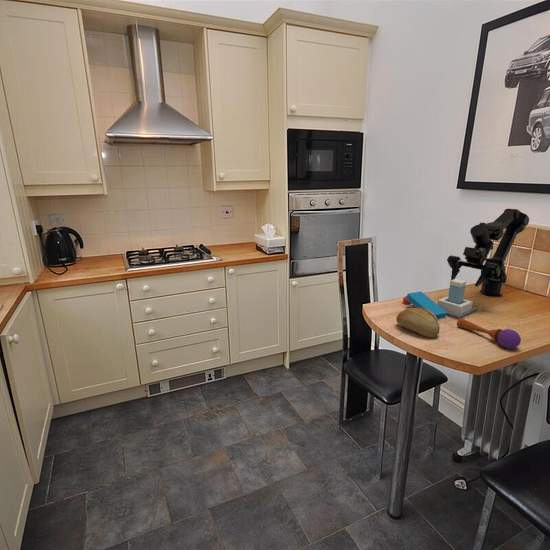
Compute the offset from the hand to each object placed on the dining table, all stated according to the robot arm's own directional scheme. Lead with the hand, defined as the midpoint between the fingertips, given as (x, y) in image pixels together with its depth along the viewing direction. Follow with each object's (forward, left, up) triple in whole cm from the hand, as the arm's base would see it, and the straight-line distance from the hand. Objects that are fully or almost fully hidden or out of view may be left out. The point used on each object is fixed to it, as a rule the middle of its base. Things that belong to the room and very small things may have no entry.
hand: (463, 283), depth 140 cm
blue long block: (+16, +2, -11) cm, 20 cm away
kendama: (+4, +26, -11) cm, 28 cm away
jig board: (+3, +3, -10) cm, 11 cm away
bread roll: (+25, +21, -11) cm, 34 cm away
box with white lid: (+4, +3, -9) cm, 10 cm away
